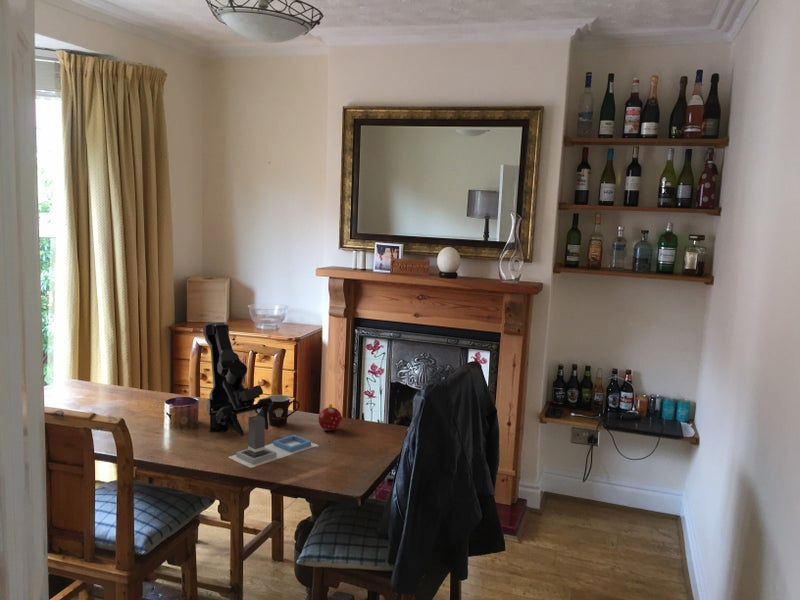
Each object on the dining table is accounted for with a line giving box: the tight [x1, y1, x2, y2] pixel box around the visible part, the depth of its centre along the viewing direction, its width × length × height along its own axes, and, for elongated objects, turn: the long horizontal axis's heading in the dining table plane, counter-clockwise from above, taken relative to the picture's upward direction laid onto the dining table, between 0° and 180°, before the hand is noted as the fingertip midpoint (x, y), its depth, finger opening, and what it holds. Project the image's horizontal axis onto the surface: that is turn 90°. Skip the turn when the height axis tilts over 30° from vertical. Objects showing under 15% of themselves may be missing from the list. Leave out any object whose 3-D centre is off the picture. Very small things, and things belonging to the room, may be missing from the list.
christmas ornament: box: [318, 403, 343, 432], centre depth 231 cm, size 9×9×10 cm
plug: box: [245, 414, 268, 458], centre depth 200 cm, size 5×5×13 cm
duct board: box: [228, 434, 320, 469], centre depth 207 cm, size 28×12×2 cm, turn 140°
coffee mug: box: [266, 394, 300, 428], centre depth 236 cm, size 12×9×10 cm
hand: (255, 432), depth 200 cm, fingers open, 9 cm apart
